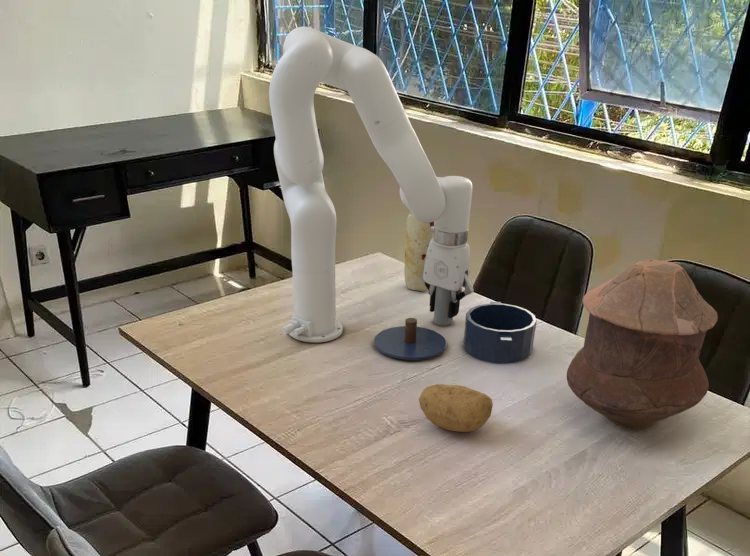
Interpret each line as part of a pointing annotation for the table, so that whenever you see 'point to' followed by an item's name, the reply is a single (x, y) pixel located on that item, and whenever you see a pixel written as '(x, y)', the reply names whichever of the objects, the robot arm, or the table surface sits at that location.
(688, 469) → the table surface
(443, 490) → the table surface
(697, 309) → the pottery vessel
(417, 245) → the food model
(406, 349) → the lid
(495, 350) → the pot
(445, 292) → the grey tube
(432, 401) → the potato
